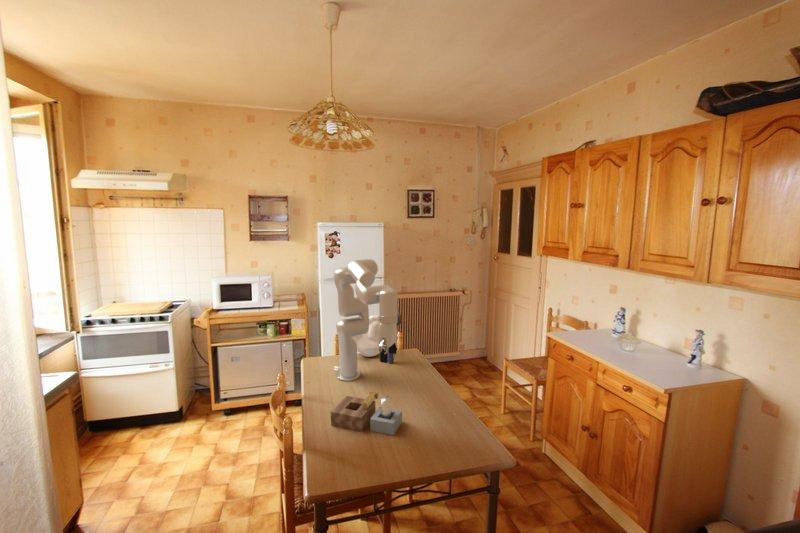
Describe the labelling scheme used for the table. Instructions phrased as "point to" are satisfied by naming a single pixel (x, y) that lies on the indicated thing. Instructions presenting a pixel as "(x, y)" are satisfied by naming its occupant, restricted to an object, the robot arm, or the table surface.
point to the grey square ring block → (386, 422)
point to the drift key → (370, 399)
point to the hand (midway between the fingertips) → (388, 357)
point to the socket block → (352, 414)
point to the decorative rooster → (369, 339)
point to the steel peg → (386, 407)
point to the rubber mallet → (390, 356)
